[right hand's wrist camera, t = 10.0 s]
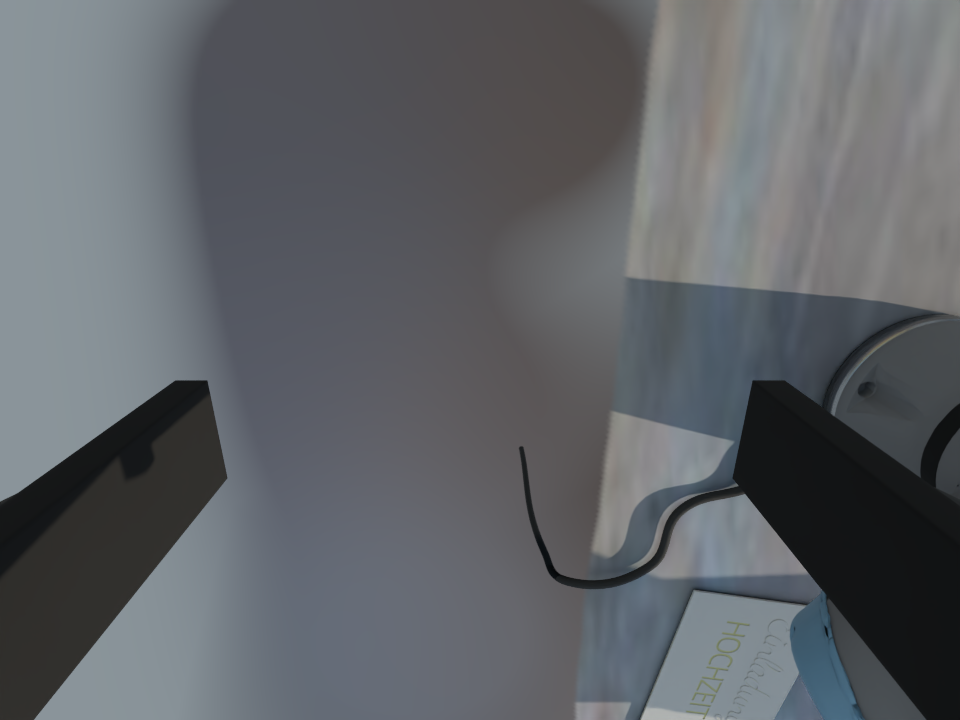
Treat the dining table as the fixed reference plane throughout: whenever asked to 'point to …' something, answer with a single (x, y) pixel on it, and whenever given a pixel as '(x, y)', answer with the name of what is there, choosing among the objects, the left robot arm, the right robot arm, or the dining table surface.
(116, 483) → the right robot arm
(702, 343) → the dining table surface
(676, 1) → the dining table surface
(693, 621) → the invitation card
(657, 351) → the dining table surface
